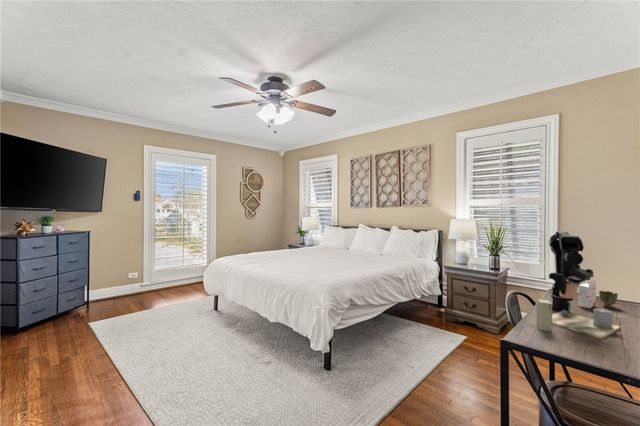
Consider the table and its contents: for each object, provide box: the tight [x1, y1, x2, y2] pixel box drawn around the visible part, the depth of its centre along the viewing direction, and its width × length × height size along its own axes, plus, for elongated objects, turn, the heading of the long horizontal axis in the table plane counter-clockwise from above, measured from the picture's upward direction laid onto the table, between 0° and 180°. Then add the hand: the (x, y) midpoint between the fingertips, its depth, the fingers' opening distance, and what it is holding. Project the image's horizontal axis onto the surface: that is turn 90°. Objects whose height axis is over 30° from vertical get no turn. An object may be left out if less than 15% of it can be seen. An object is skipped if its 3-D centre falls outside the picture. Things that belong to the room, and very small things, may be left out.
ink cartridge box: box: [577, 279, 597, 309], centre depth 163 cm, size 9×5×15 cm, turn 117°
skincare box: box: [536, 298, 553, 332], centre depth 131 cm, size 6×4×12 cm
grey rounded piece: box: [592, 307, 614, 329], centre depth 132 cm, size 6×6×7 cm
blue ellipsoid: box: [561, 310, 570, 316], centre depth 144 cm, size 3×3×3 cm
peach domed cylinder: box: [560, 281, 578, 300], centre depth 142 cm, size 6×6×7 cm
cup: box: [598, 290, 618, 308], centre depth 163 cm, size 8×7×8 cm
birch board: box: [552, 311, 621, 340], centre depth 136 cm, size 22×22×1 cm
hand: (568, 294), depth 142 cm, fingers closed on peach domed cylinder, 6 cm apart
